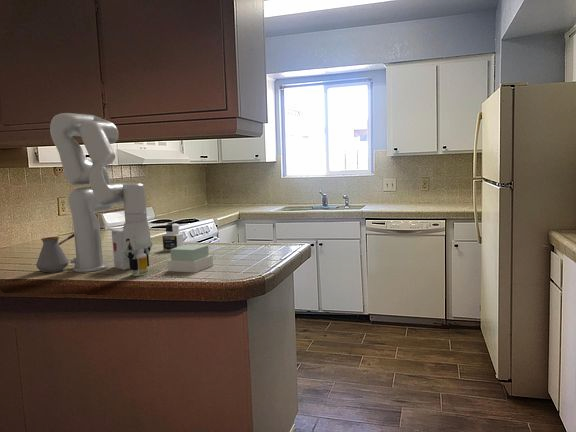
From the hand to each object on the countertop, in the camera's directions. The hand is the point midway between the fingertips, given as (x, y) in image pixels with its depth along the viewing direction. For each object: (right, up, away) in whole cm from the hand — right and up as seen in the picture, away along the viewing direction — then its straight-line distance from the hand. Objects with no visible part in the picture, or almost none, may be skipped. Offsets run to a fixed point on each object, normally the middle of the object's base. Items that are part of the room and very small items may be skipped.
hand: (139, 267), depth 180 cm
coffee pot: (-35, -2, +18) cm, 39 cm away
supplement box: (-9, -1, +16) cm, 18 cm away
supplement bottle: (0, -3, 0) cm, 3 cm away
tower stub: (+17, -1, +7) cm, 19 cm away
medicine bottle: (0, +3, +53) cm, 53 cm away
